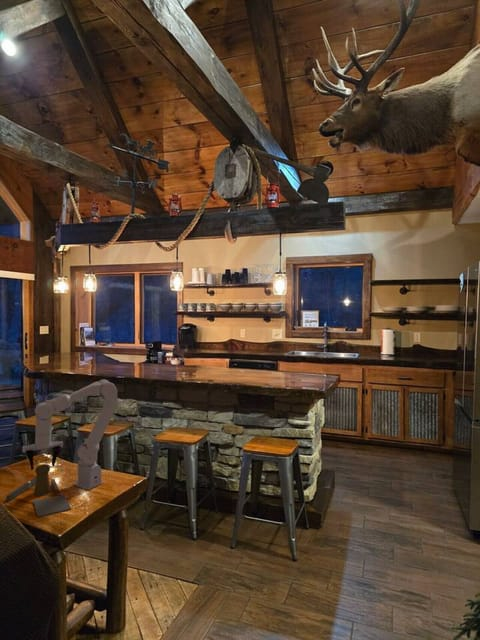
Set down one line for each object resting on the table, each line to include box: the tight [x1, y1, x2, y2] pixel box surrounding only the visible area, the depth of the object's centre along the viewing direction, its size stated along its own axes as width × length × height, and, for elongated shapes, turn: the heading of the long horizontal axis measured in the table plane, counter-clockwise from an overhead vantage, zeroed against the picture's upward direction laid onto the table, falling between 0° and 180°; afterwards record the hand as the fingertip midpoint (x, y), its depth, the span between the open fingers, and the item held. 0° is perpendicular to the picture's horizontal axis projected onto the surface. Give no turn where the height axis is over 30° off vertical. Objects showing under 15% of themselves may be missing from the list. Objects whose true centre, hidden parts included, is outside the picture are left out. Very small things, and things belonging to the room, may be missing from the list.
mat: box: [32, 494, 72, 518], centre depth 152 cm, size 13×11×1 cm
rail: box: [50, 478, 60, 497], centre depth 166 cm, size 12×1×2 cm, turn 33°
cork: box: [33, 463, 51, 497], centre depth 163 cm, size 6×6×11 cm
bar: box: [5, 475, 37, 502], centre depth 164 cm, size 19×2×2 cm, turn 173°
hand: (42, 467), depth 163 cm, fingers open, 7 cm apart
